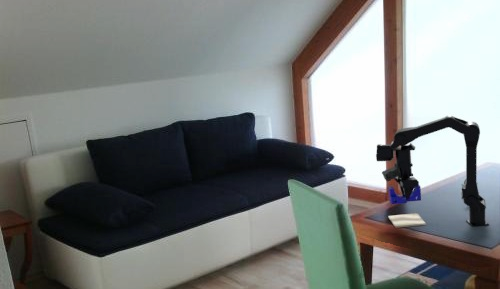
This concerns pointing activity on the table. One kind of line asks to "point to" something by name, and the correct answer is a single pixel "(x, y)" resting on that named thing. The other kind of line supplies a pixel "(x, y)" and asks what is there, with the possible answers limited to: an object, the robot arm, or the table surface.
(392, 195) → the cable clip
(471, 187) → the robot arm
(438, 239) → the table surface
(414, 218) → the pad
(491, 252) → the table surface
